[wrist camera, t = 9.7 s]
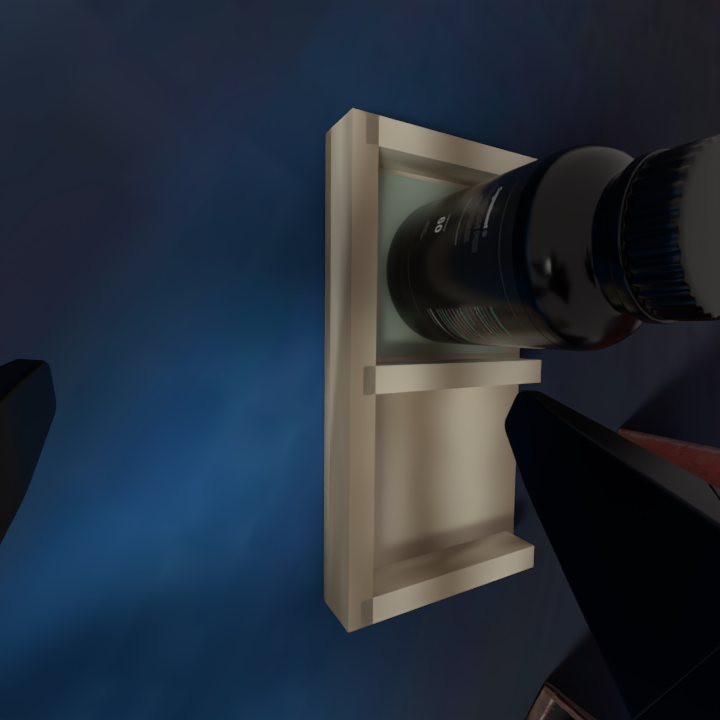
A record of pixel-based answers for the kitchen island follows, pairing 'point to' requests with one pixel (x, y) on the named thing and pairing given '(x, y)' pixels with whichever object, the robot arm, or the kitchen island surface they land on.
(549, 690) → the letter holder
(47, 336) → the kitchen island surface
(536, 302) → the supplement bottle
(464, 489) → the birch rack
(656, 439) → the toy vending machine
